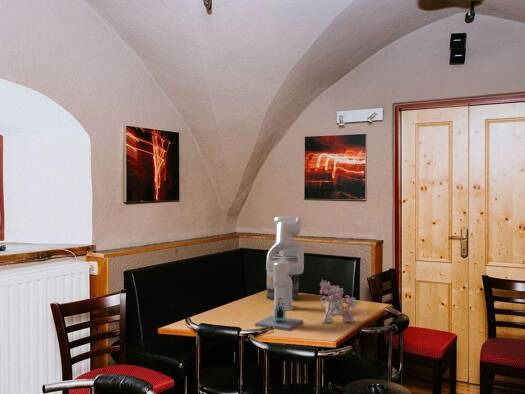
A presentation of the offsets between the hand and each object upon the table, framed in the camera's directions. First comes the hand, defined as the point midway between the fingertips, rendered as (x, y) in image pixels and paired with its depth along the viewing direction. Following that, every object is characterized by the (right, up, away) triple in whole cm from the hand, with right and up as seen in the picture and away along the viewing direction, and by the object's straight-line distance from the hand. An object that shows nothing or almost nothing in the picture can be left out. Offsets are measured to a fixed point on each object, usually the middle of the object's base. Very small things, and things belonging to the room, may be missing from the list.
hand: (279, 316), depth 284 cm
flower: (+35, -5, +7) cm, 36 cm away
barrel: (+5, -5, +74) cm, 74 cm away
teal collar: (0, -2, 0) cm, 2 cm away
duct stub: (0, -3, 0) cm, 3 cm away
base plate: (0, -5, 0) cm, 5 cm away
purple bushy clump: (+32, -5, +28) cm, 43 cm away
